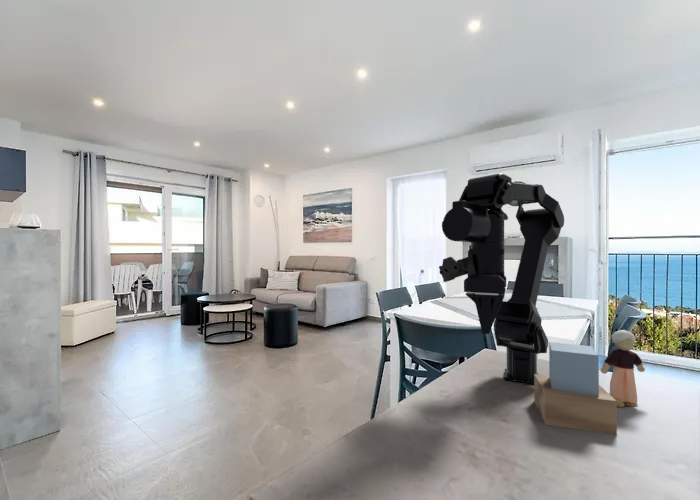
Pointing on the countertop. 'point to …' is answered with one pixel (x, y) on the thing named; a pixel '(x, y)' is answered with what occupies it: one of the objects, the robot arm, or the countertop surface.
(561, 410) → the tan flat block
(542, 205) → the robot arm
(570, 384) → the slate-blue cube
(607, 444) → the countertop surface
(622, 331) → the grandmother figurine
